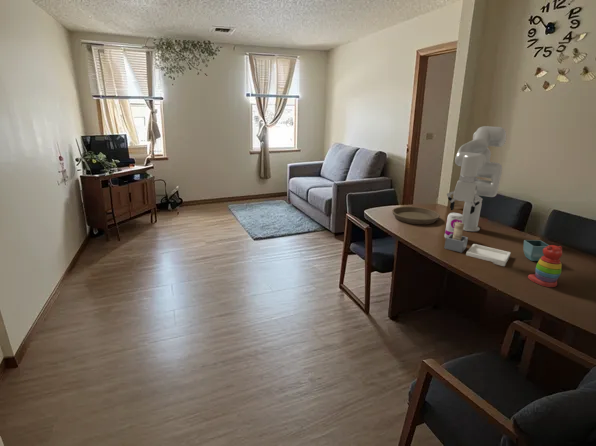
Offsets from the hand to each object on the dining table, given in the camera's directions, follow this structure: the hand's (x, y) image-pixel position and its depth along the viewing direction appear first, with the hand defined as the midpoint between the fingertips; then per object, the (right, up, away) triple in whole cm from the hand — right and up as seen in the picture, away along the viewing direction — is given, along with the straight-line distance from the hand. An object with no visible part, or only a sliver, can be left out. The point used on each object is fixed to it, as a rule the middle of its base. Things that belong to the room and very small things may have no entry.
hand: (461, 211), depth 188 cm
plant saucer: (-6, -3, +58) cm, 58 cm away
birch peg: (0, -19, +7) cm, 21 cm away
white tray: (+13, -23, -1) cm, 27 cm away
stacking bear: (+25, -33, -26) cm, 49 cm away
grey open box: (0, -20, +7) cm, 22 cm away
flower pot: (+35, -25, -3) cm, 43 cm away
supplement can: (+4, -15, +22) cm, 27 cm away
